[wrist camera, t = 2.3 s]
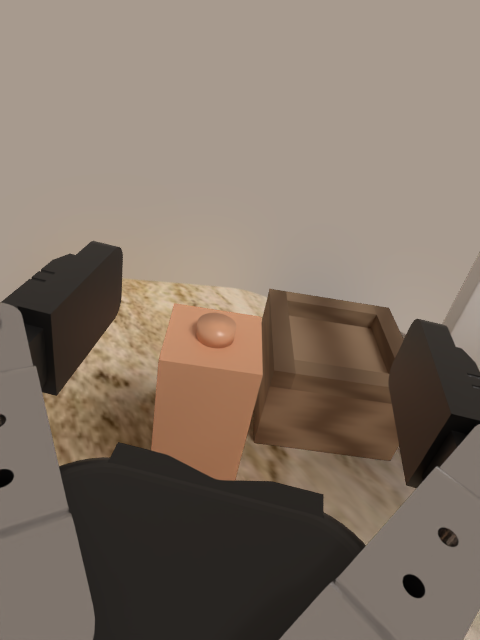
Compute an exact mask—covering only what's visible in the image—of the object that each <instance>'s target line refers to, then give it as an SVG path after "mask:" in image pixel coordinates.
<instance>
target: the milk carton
mask: <svg viewBox="0 0 480 640" xmlns="http://www.w3.org/2000/svg"><path fill="white" fill-rule="evenodd" d="M442 325H445V326H447V327H448V329H449V332H450V334H451V336H452V339H453V341H454V344H455V346H456V347H458V348H462V349H463V350H464V351H465V352H466V353H467V354H468V355H469V356H470V357H471V358H472V359H473V360H474V361H475V362H476V364H477V367H478V369H479V371H480V252H479V254H478V256H477V258H476V260H475V262H474V264H473V266H472V268H471V270H470V272H469V273H468V276H467V277H466V279H465V281H464V283H463V285H462V287H461V289H460V291H459V293H458V295H457V297H456V298H455V300H454V302H453V304H452V306H451V308H450V310H449V312H448V314H447V316H446V318H445V320H444V321H443V324H442Z"/></svg>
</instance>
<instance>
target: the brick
mask: <svg viewBox="0 0 480 640" xmlns="http://www.w3.org/2000/svg"><path fill="white" fill-rule="evenodd" d="M262 376H263V364H262V322H261V317H259V316H252V315H246V314H239V313H233V312H226V311H220V310H214V309H207V308H201V307H194V306H188V305H181V304H175V303H174V307H173V310H172V314H171V317H170V321H169V325H168V328H167V332H166V335H165V339H164V343H163V346H162V350H161V353H160V357H159V362H158V374H157V386H156V398H155V410H154V422H153V434H152V446H151V451H155V452H159V453H163V454H166V455H169V456H171V457H173V458H175V459H177V460H179V461H181V462H183V463H185V464H187V465H189V466H190V467H192V468H194V469H196V470H198V471H200V472H202V473H204V474H206V475H208V476H210V477H212V478H214V479H218V480H232V481H235V479H236V475H237V471H238V467H239V464H240V460H241V456H242V452H243V448H244V445H245V441H246V437H247V433H248V429H249V426H250V422H251V418H252V414H253V410H254V407H255V403H256V399H257V395H258V391H259V388H260V384H261V380H262Z"/></svg>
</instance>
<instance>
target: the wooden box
mask: <svg viewBox="0 0 480 640" xmlns="http://www.w3.org/2000/svg"><path fill="white" fill-rule="evenodd" d="M403 341H404V339H403V337H402V335H401V333H400V331H399V329H398V326H397V324H396V322H395V320H394V318H393V316H392V314H391V311H390V309H389V308H386V307H379V306H374V305H368V304H361V303H354V302H349V301H343V300H336V299H330V298H323V297H318V296H311V295H305V294H298V293H292V292H286V291H280V290H274V289H269V294H268V298H267V302H266V306H265V310H264V315H263V319H262V364H263V376H262V380H261V384H260V388H259V391H258V395H257V399H256V403H255V407H254V443H260V444H268V445H275V446H283V447H290V448H298V449H305V450H313V451H320V452H327V453H335V454H342V455H350V456H357V457H365V458H372V459H380V460H387V461H390V460H391V459H392V457H393V455H394V453H395V451H396V450H397V448H398V446H399V442H398V436H397V431H396V425H395V419H394V414H393V408H392V403H391V397H390V391H389V385H388V381H389V373H390V369H391V366H392V364H393V361H394V359H395V357H396V355H397V353H398V351H399V349H400V347H401V345H402V343H403Z"/></svg>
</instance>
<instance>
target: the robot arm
mask: <svg viewBox="0 0 480 640" xmlns="http://www.w3.org/2000/svg"><path fill="white" fill-rule="evenodd" d="M122 258H123V254H122V250H121V248H120V247H116V246H112V245H108V244H104V243H100V242H95V241H92V242H90V243H89V244H88V245H87V246H86V247H84V248H83V249H82V250H81V251H80V252H79V253H78V254H76V255H73V254H68V255H65V256H63V257H60V258H57V259H54V260H52V261H51V262H50V263H48V265H46V266H45V267H44V268H42V269H41V272H40V271H39V272H37V273H36V274H35V275H34V276H33V277H32V279H29V280H28V281H26V282H25V283H24V284H23V285H22V286H20V287H19V288H18V289H17V290H15V291H14V292H13V293H12V294H11V295H9V296H8V297H7V298H6V299H5V300H3V301H2V302H0V640H463V639H464V637H465V635H466V633H467V631H468V630H469V628H470V626H471V624H472V622H473V620H474V618H475V616H476V615H477V613H478V611H479V609H480V371H479V369H478V367H477V364H476V362H475V361H474V360H473V359H472V358H471V357H470V356H469V355H468V354H467V353H466V352H465V351H464V350H463V349H462V348H458V347H456V346H455V344H454V341H453V339H452V336H451V334H450V332H449V329H448V327H447V326H445V325H442V324H438V323H433V322H429V321H425V320H421V319H416V320H414V322H413V323H412V324H411V326H410V328H409V330H408V332H407V334H406V336H405V338H404V341H403V343H402V345H401V347H400V349H399V351H398V353H397V355H396V357H395V359H394V361H393V364H392V366H391V369H390V373H389V381H388V385H389V391H390V397H391V403H392V408H393V414H394V419H395V425H396V431H397V436H398V442H399V447H400V453H401V459H402V464H403V470H404V475H405V481H406V485H407V486H411V487H415V488H417V489H416V490H415V491H414V492H413V493H412V494H411V496H410V497H409V498H408V499H407V500H406V501H405V502H404V503H403V505H402V506H401V507H400V508H399V509H398V510H397V511H396V512H395V514H394V515H393V516H392V517H391V518H390V519H389V520H388V522H387V523H386V524H385V525H384V526H383V527H382V528H381V529H380V531H379V532H378V533H377V534H376V535H375V536H374V537H373V538H372V540H371V541H370V542H369V543H368V544H367V545H365V544H364V543H363V542H362V541H361V540H360V539H359V538H358V537H357V536H356V535H355V534H354V533H353V532H352V531H351V530H349V529H348V528H347V527H345V526H344V525H343V524H342V523H340V522H339V521H337V520H336V519H334V518H333V517H331V516H329V515H327V514H326V513H324V512H323V494H319V493H315V492H311V491H307V490H303V489H300V488H296V487H292V486H288V485H284V484H280V483H276V482H271V481H232V480H218V479H214V478H212V477H210V476H208V475H206V474H204V473H202V472H200V471H198V470H196V469H194V468H192V467H190V466H189V465H187V464H185V463H183V462H181V461H179V460H177V459H175V458H173V457H171V456H169V455H166V454H163V453H159V452H155V451H151V450H147V449H143V448H139V447H135V446H131V445H127V444H123V443H119V442H118V444H117V445H116V447H115V449H114V451H113V453H112V455H111V457H110V458H91V459H85V460H79V461H75V462H72V463H68V464H65V465H62V466H59V465H58V461H57V456H56V452H55V447H54V443H53V439H52V434H51V430H50V425H49V421H48V417H47V412H46V408H45V403H44V399H43V395H42V392H44V393H48V394H52V395H56V396H57V395H58V393H59V392H60V391H61V389H62V388H63V387H64V385H65V384H66V383H67V381H68V380H69V379H70V377H71V376H72V375H73V373H74V372H75V371H76V369H77V368H78V367H79V365H80V364H81V363H82V361H83V360H84V359H85V357H86V356H87V355H88V353H89V352H90V351H91V349H92V348H93V347H94V345H95V344H96V343H97V341H98V340H99V339H100V337H101V336H102V335H103V333H104V332H105V331H106V329H107V328H108V327H109V325H110V324H111V323H112V321H113V320H114V319H115V317H116V315H117V313H118V310H119V307H120V303H121V293H122V262H123V261H122V260H123V259H122Z"/></svg>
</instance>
